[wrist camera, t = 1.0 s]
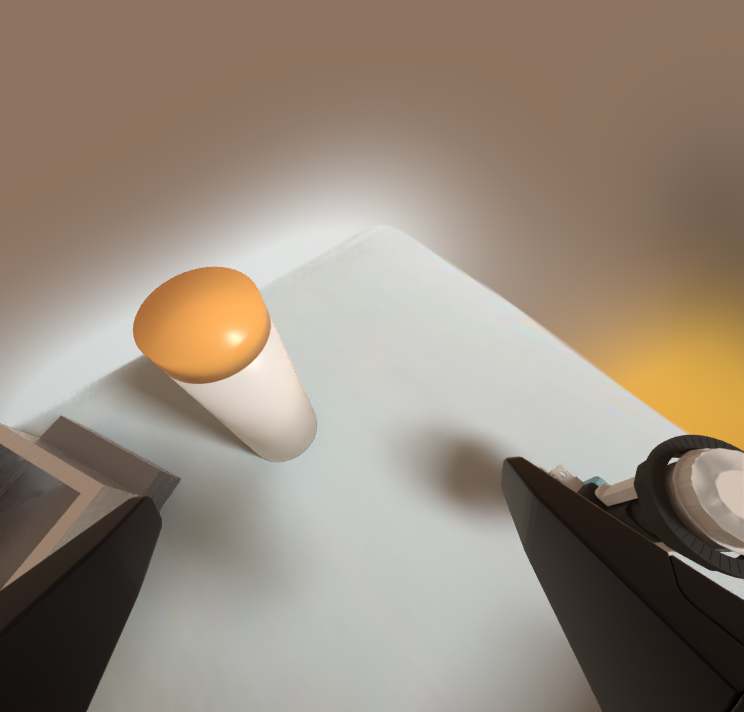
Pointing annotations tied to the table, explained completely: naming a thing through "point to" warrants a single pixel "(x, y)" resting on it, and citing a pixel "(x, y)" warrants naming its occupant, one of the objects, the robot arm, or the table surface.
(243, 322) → the orange lidded white canister
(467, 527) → the table surface
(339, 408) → the table surface
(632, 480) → the push button
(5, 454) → the grey stepped open box
